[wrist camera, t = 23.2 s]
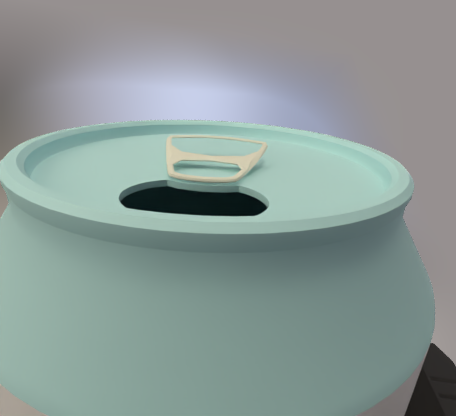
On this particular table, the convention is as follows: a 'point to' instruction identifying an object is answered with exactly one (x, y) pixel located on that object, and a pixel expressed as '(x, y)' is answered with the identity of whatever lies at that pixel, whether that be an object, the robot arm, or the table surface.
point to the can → (208, 274)
